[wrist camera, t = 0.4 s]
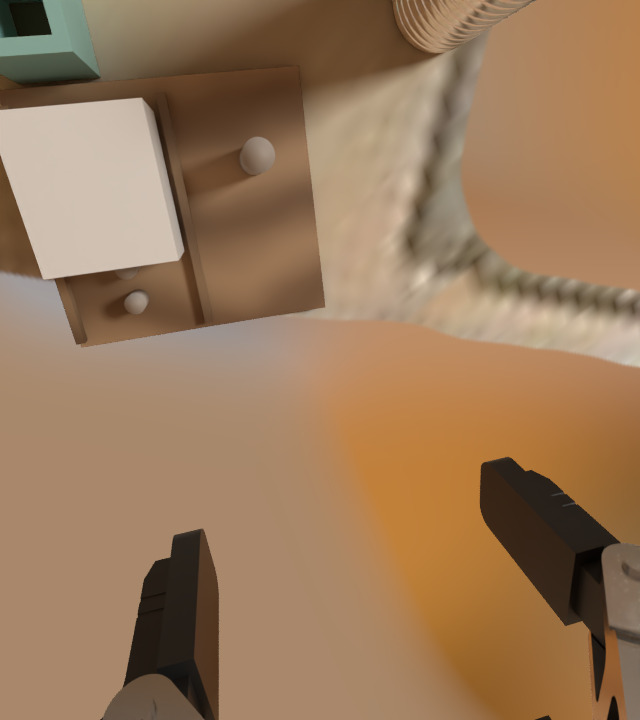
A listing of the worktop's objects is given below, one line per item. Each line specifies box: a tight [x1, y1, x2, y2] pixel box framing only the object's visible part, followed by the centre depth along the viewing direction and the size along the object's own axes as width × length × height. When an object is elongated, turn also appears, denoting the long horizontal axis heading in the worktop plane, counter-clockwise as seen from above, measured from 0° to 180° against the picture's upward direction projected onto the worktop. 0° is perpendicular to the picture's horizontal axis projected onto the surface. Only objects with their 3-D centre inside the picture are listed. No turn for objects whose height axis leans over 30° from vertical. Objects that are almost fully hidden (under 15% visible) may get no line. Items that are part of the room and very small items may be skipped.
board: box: [0, 66, 325, 347], centre depth 31 cm, size 17×19×6 cm
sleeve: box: [0, 0, 100, 84], centre depth 25 cm, size 5×5×6 cm
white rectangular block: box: [0, 98, 184, 280], centre depth 28 cm, size 9×8×5 cm
